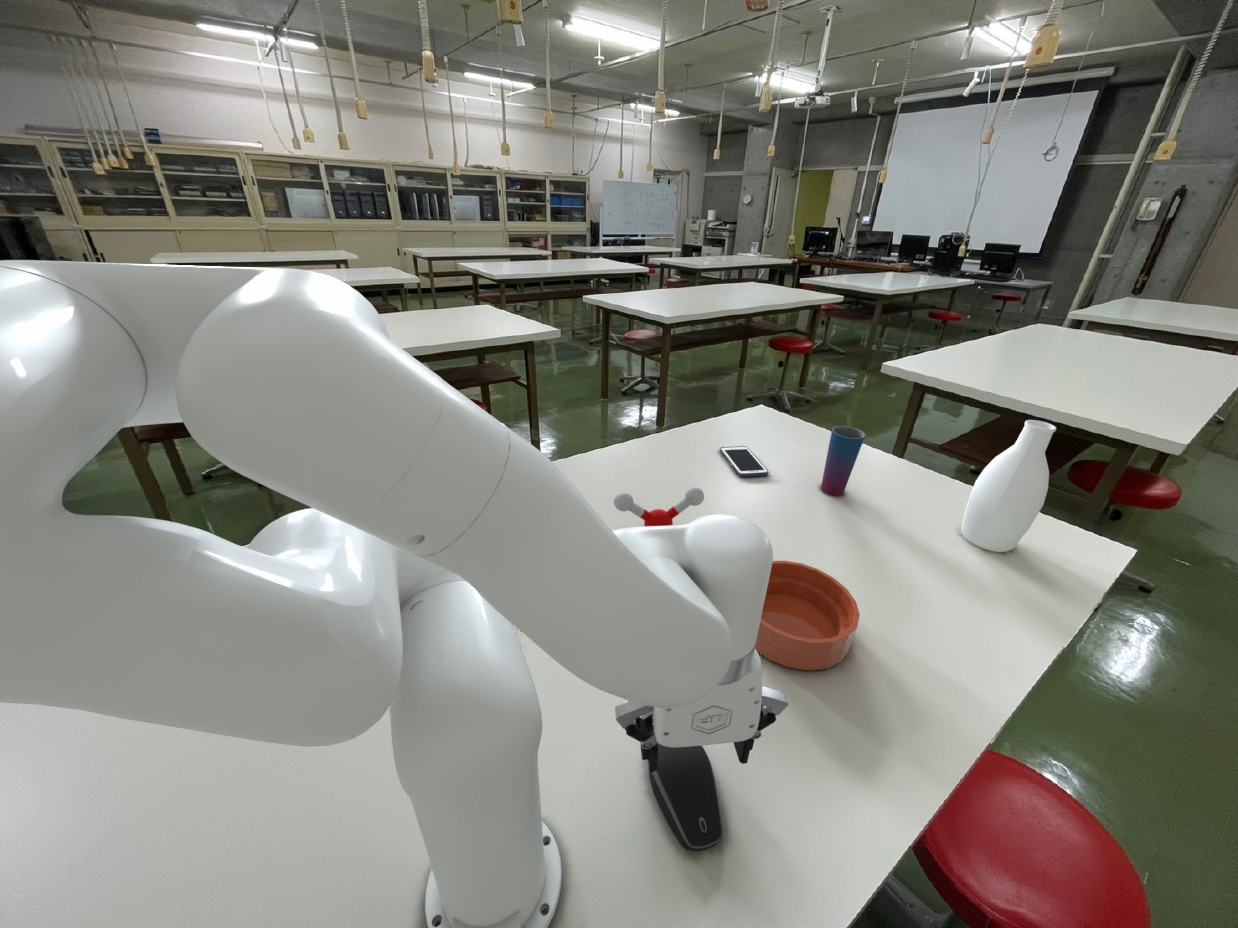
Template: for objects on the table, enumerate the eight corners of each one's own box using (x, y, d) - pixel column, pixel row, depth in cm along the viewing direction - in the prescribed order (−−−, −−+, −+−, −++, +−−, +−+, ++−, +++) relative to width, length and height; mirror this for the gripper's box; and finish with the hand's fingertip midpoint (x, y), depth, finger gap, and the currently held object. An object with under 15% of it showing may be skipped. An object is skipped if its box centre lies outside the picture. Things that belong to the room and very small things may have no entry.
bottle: (965, 550, 98) (1020, 432, 85) (946, 519, 107) (993, 409, 95) (1029, 561, 95) (1094, 441, 83) (1004, 528, 105) (1060, 416, 93)
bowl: (871, 668, 72) (883, 639, 69) (755, 676, 70) (762, 646, 67) (817, 585, 87) (825, 558, 84) (720, 589, 85) (725, 562, 82)
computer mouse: (674, 861, 50) (678, 841, 48) (638, 746, 60) (640, 725, 58) (737, 841, 52) (743, 821, 50) (691, 733, 62) (695, 712, 60)
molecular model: (691, 520, 103) (696, 478, 99) (703, 536, 98) (710, 493, 94) (610, 532, 99) (612, 489, 94) (618, 550, 94) (620, 505, 89)
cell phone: (745, 449, 134) (746, 445, 133) (769, 476, 121) (770, 472, 120) (718, 450, 132) (719, 447, 132) (739, 477, 120) (739, 474, 119)
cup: (810, 486, 118) (825, 428, 111) (831, 480, 120) (847, 423, 113) (832, 500, 112) (849, 440, 105) (854, 494, 115) (872, 435, 108)
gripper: (620, 686, 41) (618, 799, 49) (821, 670, 43) (786, 783, 51) (612, 617, 48) (611, 728, 56) (787, 606, 49) (761, 715, 57)
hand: (695, 754), depth 53 cm, fingers open, 9 cm apart
